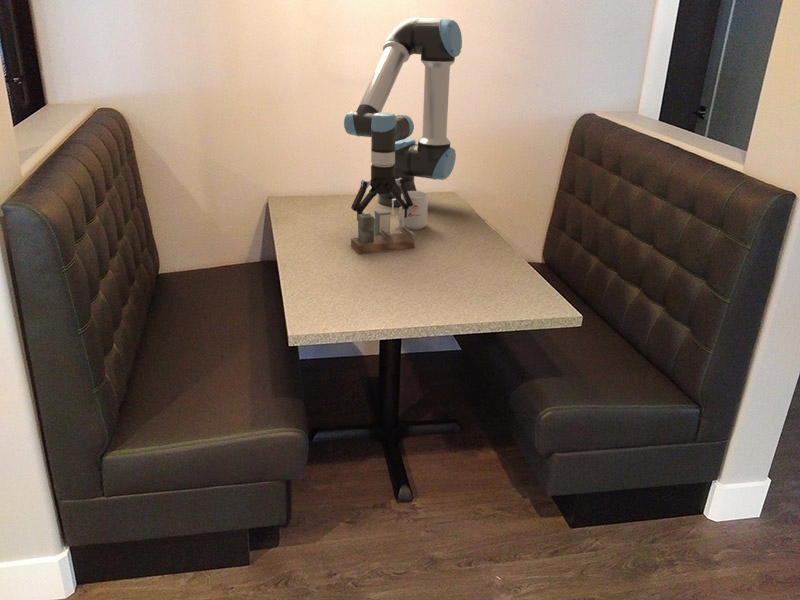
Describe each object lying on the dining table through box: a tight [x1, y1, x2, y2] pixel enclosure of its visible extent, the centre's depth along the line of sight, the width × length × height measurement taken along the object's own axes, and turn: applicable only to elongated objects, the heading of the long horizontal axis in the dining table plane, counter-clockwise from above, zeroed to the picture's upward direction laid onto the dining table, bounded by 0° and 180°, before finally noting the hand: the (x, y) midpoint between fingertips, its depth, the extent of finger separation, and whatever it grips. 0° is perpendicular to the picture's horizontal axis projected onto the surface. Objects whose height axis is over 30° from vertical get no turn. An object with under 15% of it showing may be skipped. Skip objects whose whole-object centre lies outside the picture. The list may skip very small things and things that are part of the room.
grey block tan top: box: [374, 209, 391, 236], centre depth 228 cm, size 4×4×8 cm
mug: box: [391, 190, 429, 230], centre depth 237 cm, size 12×9×11 cm
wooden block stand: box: [350, 213, 416, 255], centre depth 217 cm, size 18×8×10 cm, turn 112°
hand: (382, 229), depth 229 cm, fingers open, 13 cm apart
